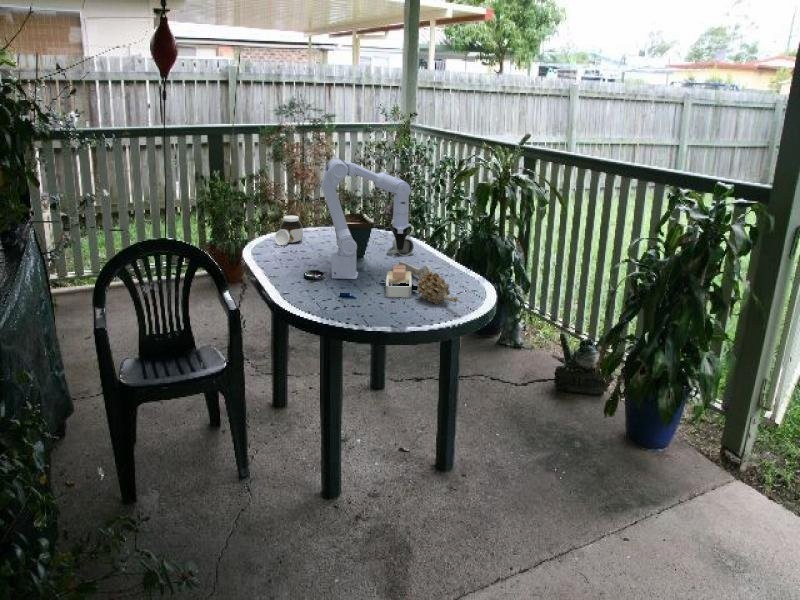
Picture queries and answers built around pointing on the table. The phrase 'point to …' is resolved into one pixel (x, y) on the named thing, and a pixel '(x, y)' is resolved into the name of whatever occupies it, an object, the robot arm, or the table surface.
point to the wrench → (416, 269)
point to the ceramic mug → (406, 249)
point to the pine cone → (434, 288)
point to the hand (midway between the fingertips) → (400, 247)
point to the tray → (398, 289)
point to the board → (398, 281)
